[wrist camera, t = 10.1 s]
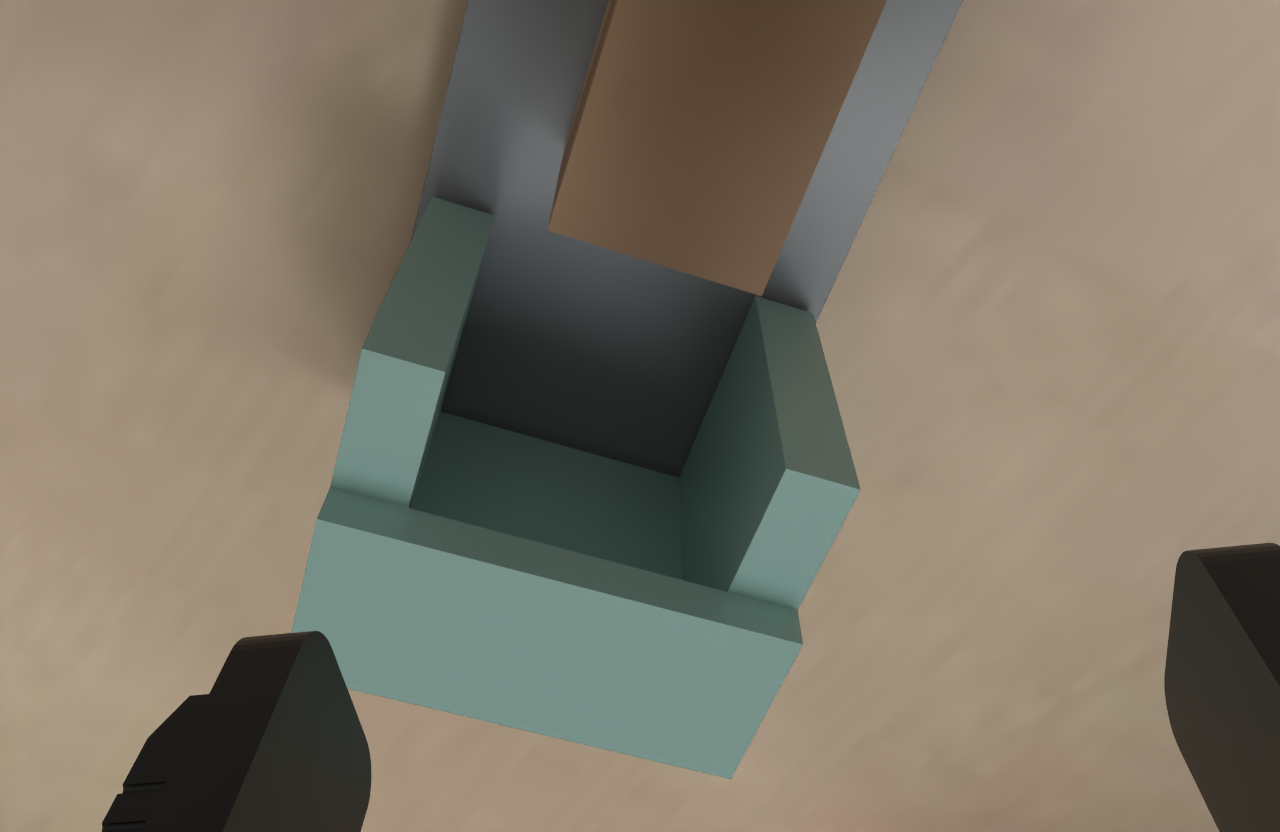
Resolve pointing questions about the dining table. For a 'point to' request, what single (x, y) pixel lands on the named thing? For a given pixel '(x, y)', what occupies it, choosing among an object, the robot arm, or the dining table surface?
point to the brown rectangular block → (706, 128)
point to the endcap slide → (573, 537)
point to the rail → (612, 281)
